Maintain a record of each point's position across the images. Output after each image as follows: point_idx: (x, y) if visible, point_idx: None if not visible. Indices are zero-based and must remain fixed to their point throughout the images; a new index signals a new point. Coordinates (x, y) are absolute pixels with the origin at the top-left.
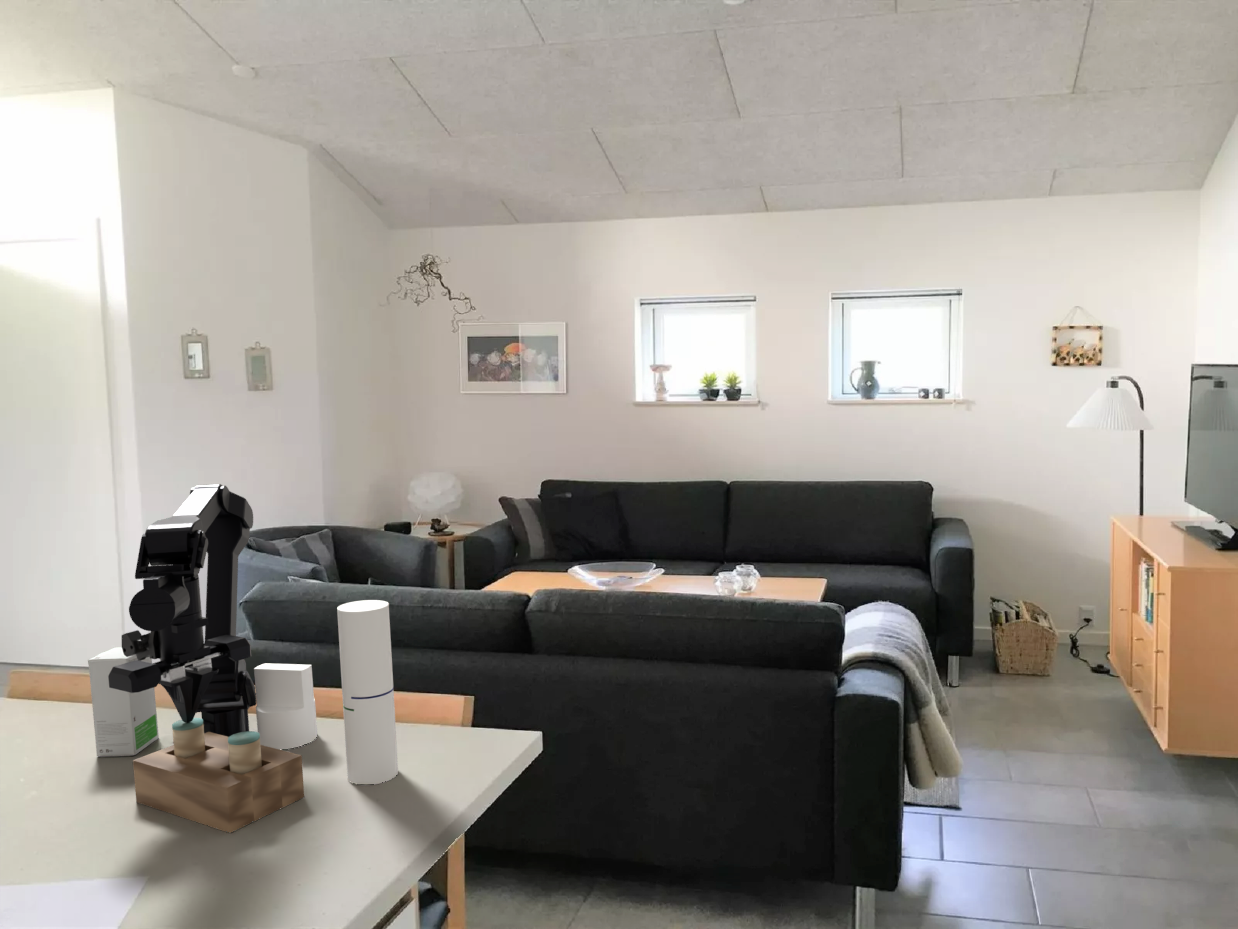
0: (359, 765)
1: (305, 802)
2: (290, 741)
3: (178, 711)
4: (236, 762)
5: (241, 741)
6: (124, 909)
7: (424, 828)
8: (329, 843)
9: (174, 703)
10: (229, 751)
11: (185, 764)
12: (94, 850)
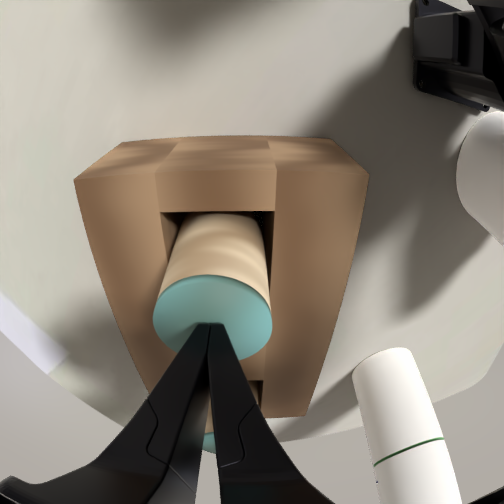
0: (357, 398)
1: None
2: (472, 215)
3: (176, 359)
4: None
5: (210, 451)
6: (47, 368)
7: (282, 438)
8: None
9: (155, 391)
10: None
11: None
12: (27, 260)
